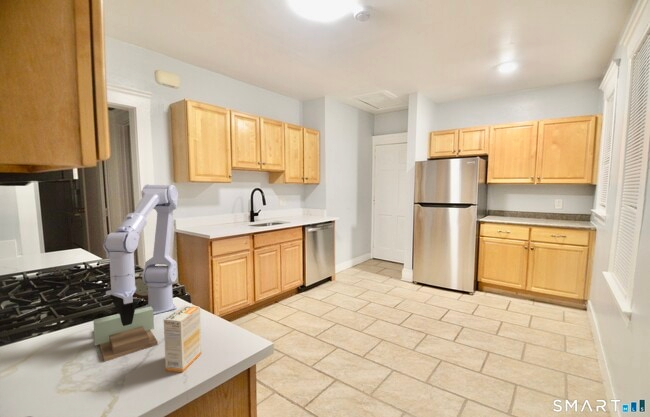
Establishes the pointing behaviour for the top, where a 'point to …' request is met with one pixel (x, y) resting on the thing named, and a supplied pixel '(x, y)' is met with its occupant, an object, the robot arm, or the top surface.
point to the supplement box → (182, 338)
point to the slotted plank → (109, 352)
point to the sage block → (114, 324)
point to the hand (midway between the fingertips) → (124, 319)
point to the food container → (140, 287)
